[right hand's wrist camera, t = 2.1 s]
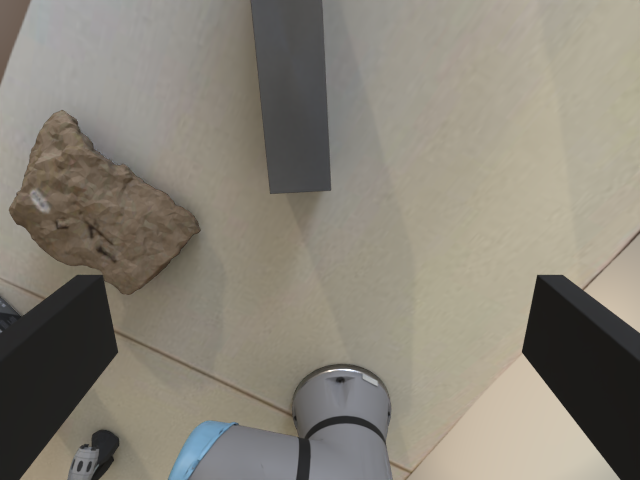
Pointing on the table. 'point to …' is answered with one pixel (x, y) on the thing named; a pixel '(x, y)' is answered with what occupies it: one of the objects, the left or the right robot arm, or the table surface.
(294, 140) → the box
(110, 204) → the stone
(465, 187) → the table surface
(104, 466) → the robot
